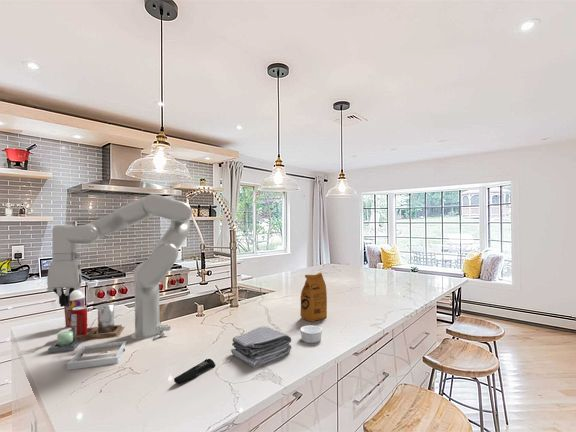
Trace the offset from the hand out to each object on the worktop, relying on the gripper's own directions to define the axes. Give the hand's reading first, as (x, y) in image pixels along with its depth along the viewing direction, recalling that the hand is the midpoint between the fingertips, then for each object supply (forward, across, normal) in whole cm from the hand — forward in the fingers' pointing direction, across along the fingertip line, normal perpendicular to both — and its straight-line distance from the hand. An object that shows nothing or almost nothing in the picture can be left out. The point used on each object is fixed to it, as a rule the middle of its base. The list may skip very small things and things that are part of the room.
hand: (64, 305), depth 119 cm
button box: (+17, 0, 0) cm, 17 cm away
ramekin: (+17, -93, +19) cm, 97 cm away
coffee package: (+17, -104, -6) cm, 106 cm away
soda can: (+16, -1, -12) cm, 20 cm away
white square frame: (+17, -14, +10) cm, 24 cm away
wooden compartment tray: (+17, -6, -12) cm, 22 cm away
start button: (+15, 0, 0) cm, 15 cm away
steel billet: (+16, -11, -12) cm, 23 cm away
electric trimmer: (+18, -48, +34) cm, 61 cm away
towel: (+17, -71, +25) cm, 77 cm away
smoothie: (+18, +6, -29) cm, 34 cm away
